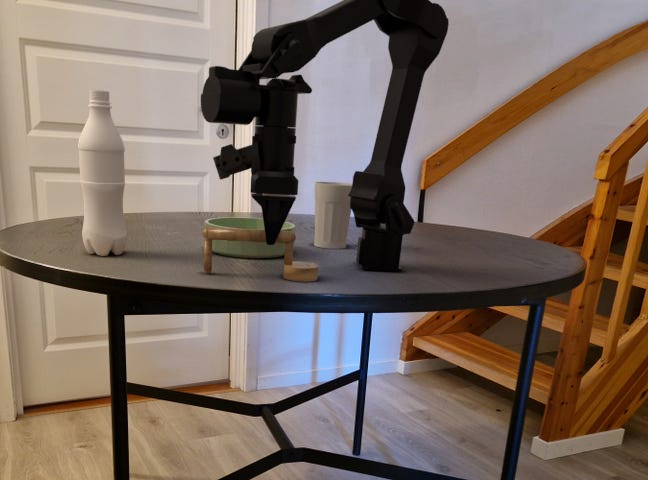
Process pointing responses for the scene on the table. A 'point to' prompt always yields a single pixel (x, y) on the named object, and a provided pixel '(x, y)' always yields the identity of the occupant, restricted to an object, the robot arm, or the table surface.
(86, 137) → the water bottle
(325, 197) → the cup
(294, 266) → the wooden dowel frame
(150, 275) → the table surface
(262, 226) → the bowl
